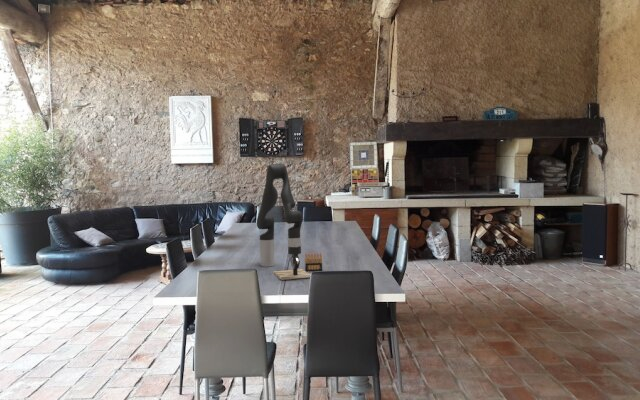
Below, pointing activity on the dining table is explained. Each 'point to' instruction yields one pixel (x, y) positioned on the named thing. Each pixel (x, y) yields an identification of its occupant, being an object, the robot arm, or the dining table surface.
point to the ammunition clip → (312, 265)
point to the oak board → (288, 272)
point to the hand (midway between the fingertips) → (295, 275)
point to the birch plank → (293, 276)
